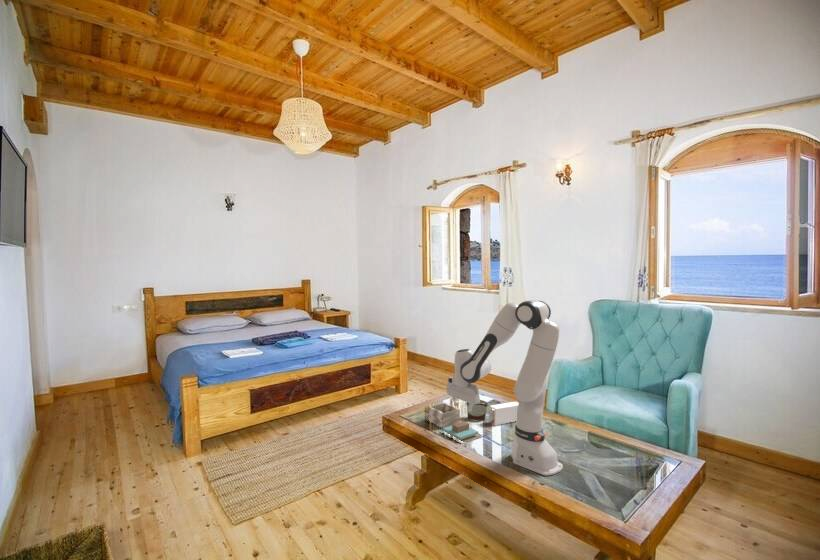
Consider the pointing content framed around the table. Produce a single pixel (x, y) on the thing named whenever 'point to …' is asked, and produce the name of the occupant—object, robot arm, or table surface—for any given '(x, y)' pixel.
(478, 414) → the food container
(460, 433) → the lid
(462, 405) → the table surface
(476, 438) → the mat
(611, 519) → the table surface
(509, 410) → the cigarette display
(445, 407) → the box
